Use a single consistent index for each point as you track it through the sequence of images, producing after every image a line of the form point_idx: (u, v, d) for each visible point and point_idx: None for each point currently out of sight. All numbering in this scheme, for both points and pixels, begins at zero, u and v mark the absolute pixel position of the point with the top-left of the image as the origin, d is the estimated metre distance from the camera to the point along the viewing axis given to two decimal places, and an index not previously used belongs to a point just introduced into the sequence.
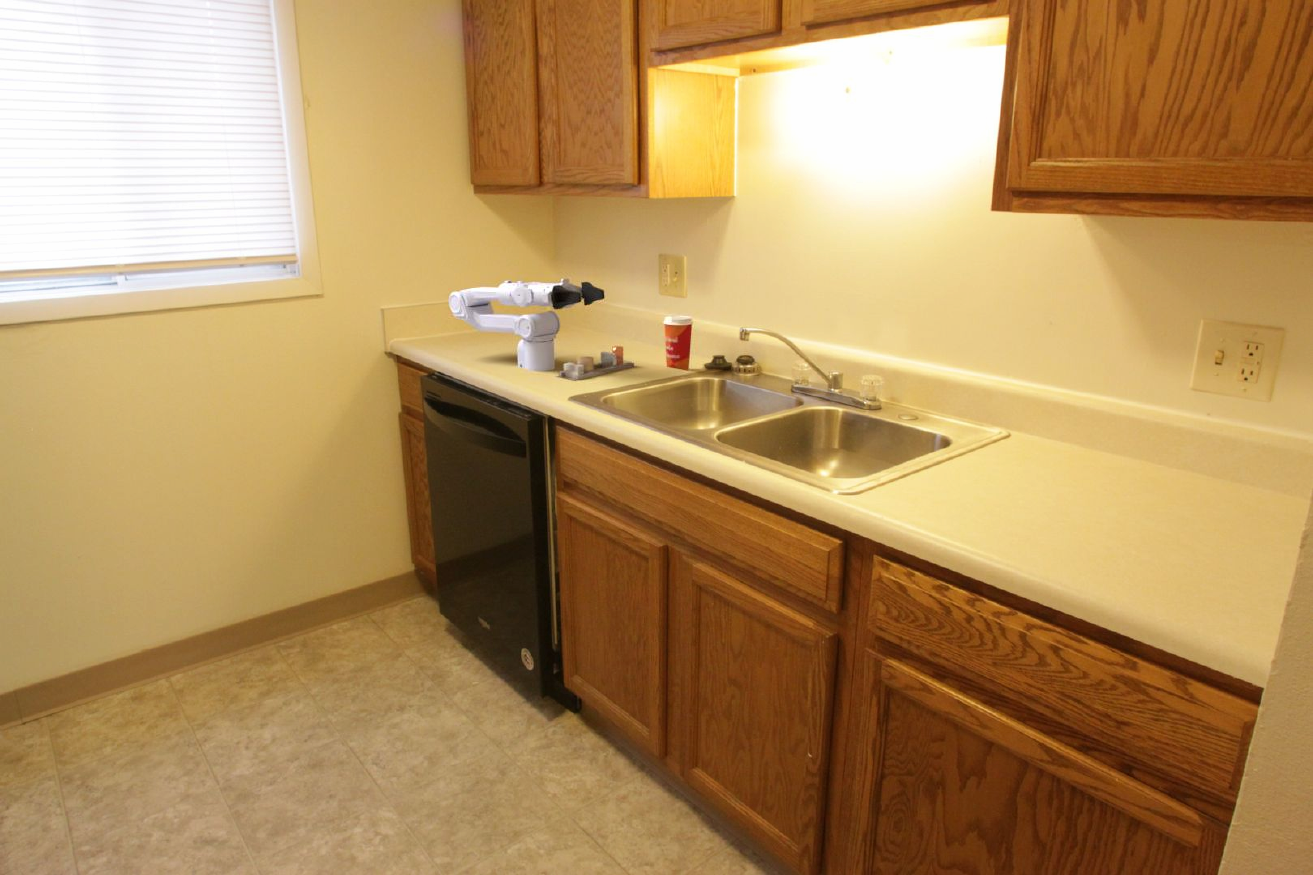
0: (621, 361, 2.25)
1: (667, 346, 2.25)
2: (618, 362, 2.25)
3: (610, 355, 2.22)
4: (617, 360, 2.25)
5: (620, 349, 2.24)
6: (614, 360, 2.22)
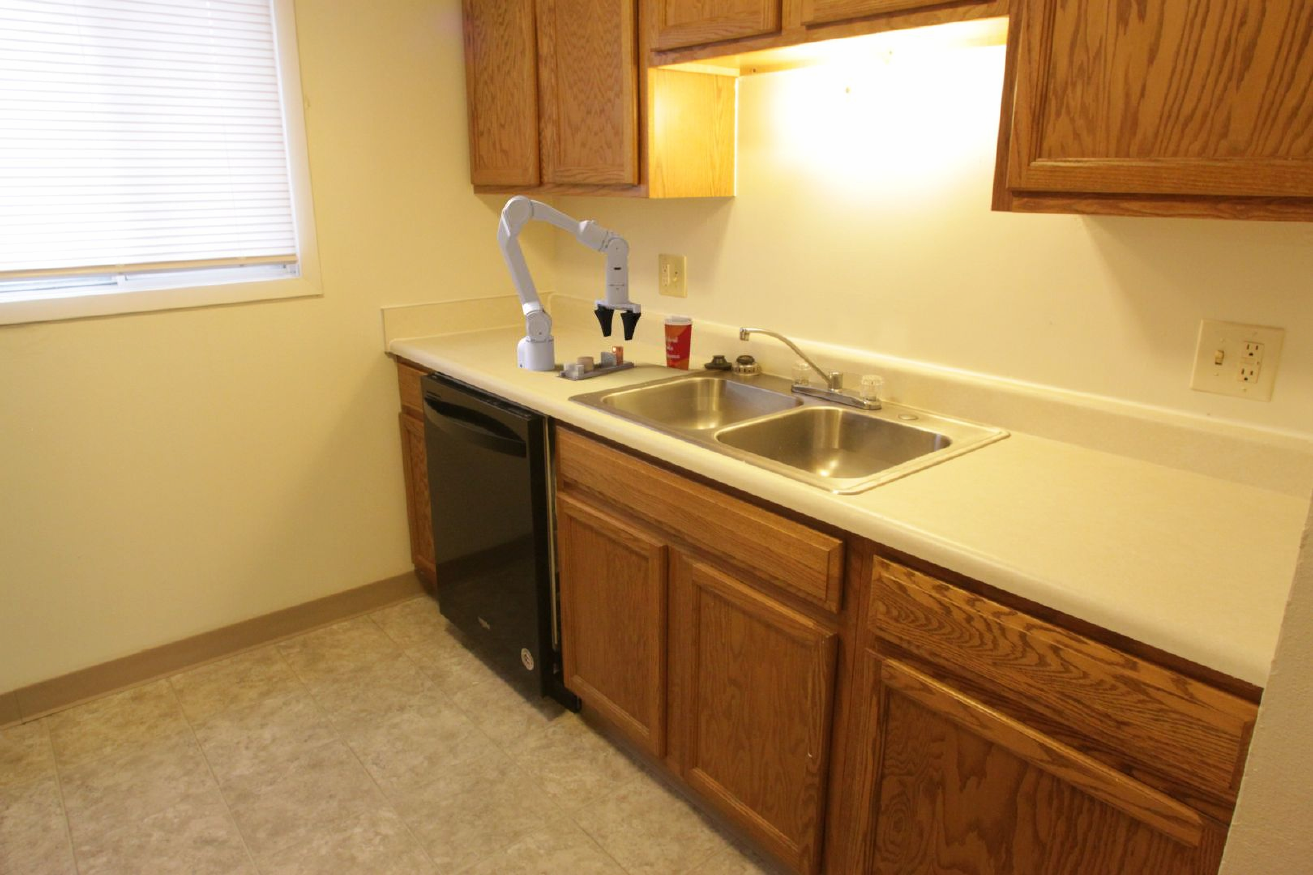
0: (621, 361, 2.25)
1: (667, 346, 2.25)
2: (618, 362, 2.25)
3: (610, 355, 2.22)
4: (617, 360, 2.25)
5: (620, 349, 2.24)
6: (614, 360, 2.22)
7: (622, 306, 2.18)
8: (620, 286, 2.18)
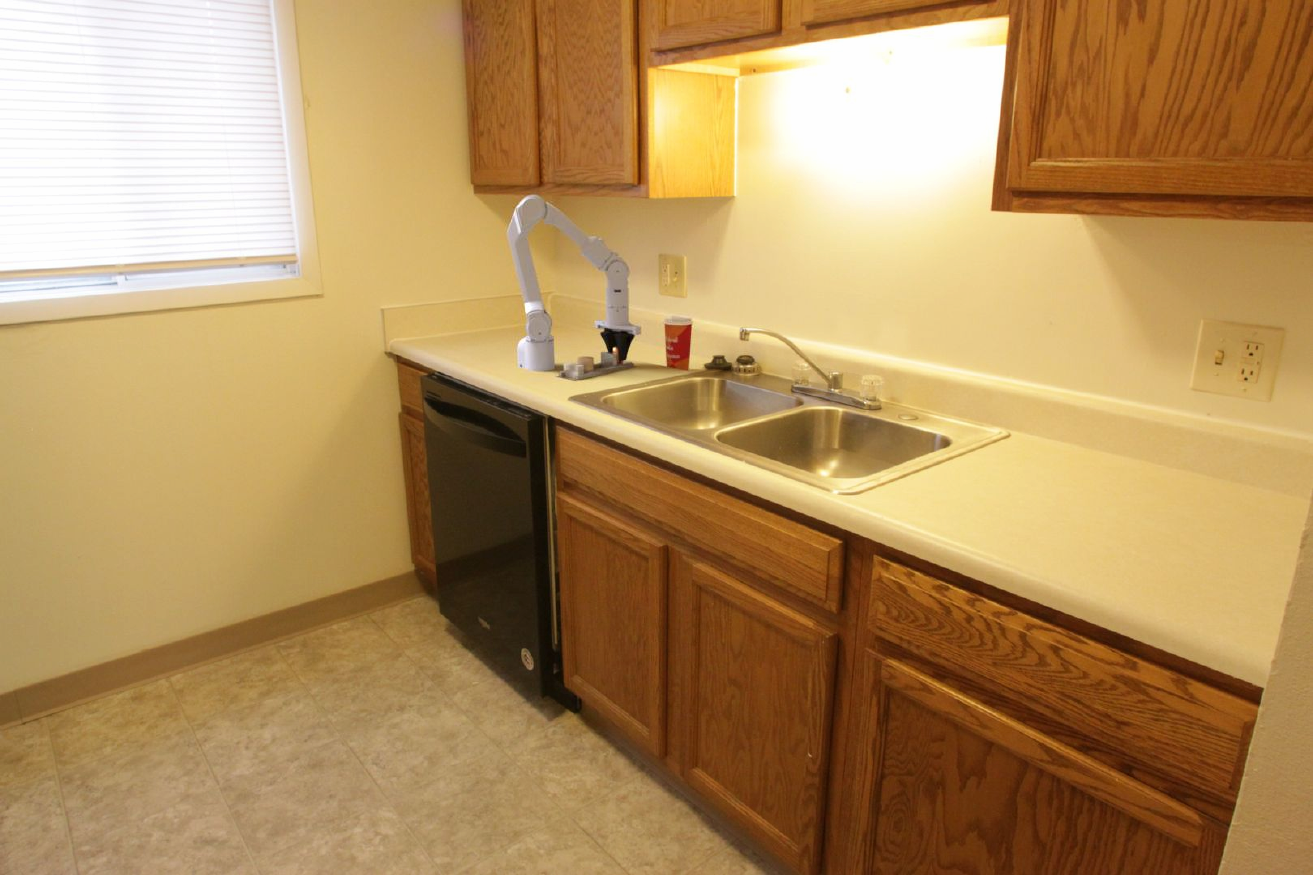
0: (621, 361, 2.25)
1: (667, 346, 2.25)
2: (618, 362, 2.25)
3: (610, 355, 2.22)
4: (617, 360, 2.25)
5: None
6: (614, 360, 2.22)
7: (622, 328, 2.20)
8: (620, 308, 2.19)
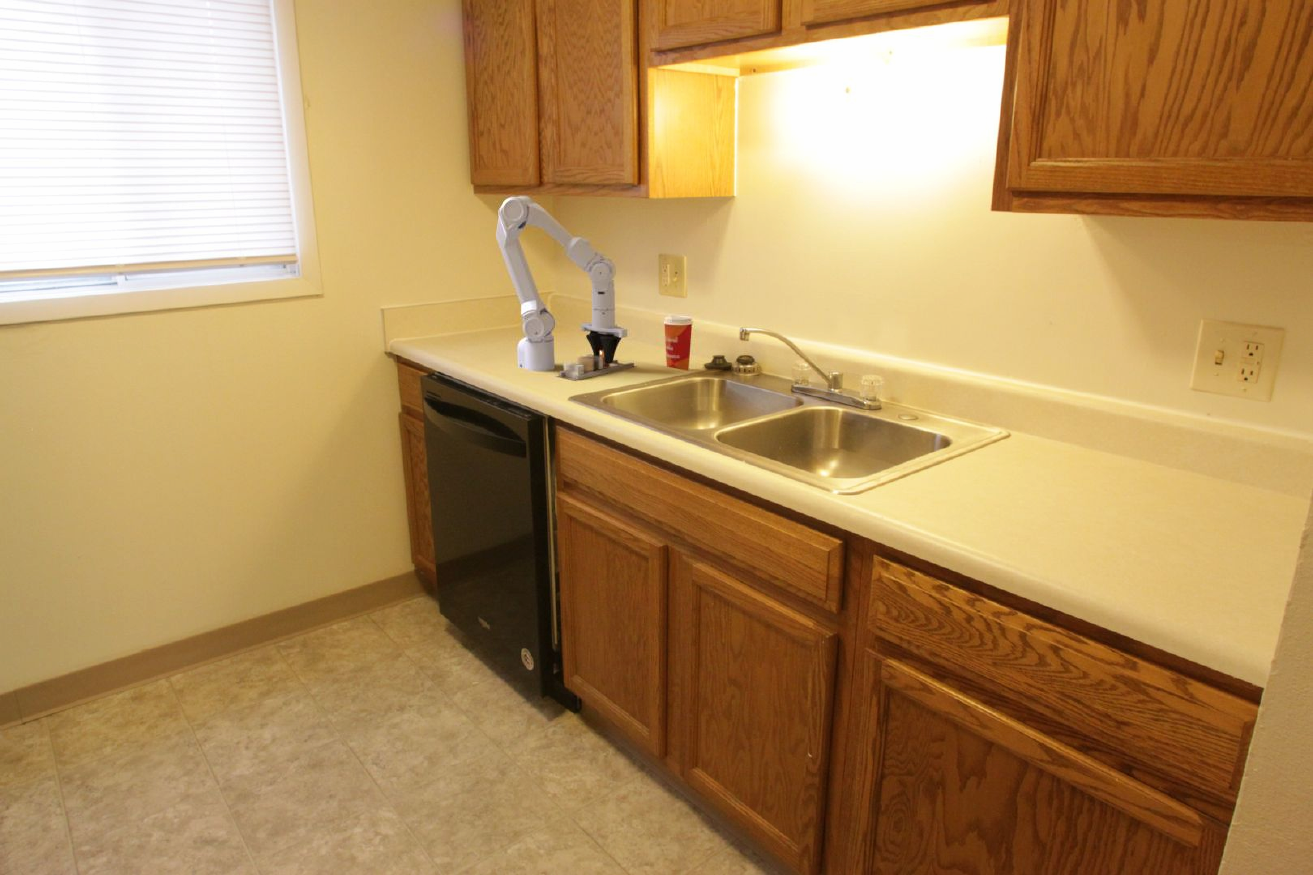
0: (608, 364, 2.21)
1: (667, 346, 2.25)
2: (604, 365, 2.21)
3: (596, 358, 2.18)
4: (603, 363, 2.21)
5: None
6: (600, 363, 2.18)
7: (608, 331, 2.16)
8: (606, 310, 2.16)
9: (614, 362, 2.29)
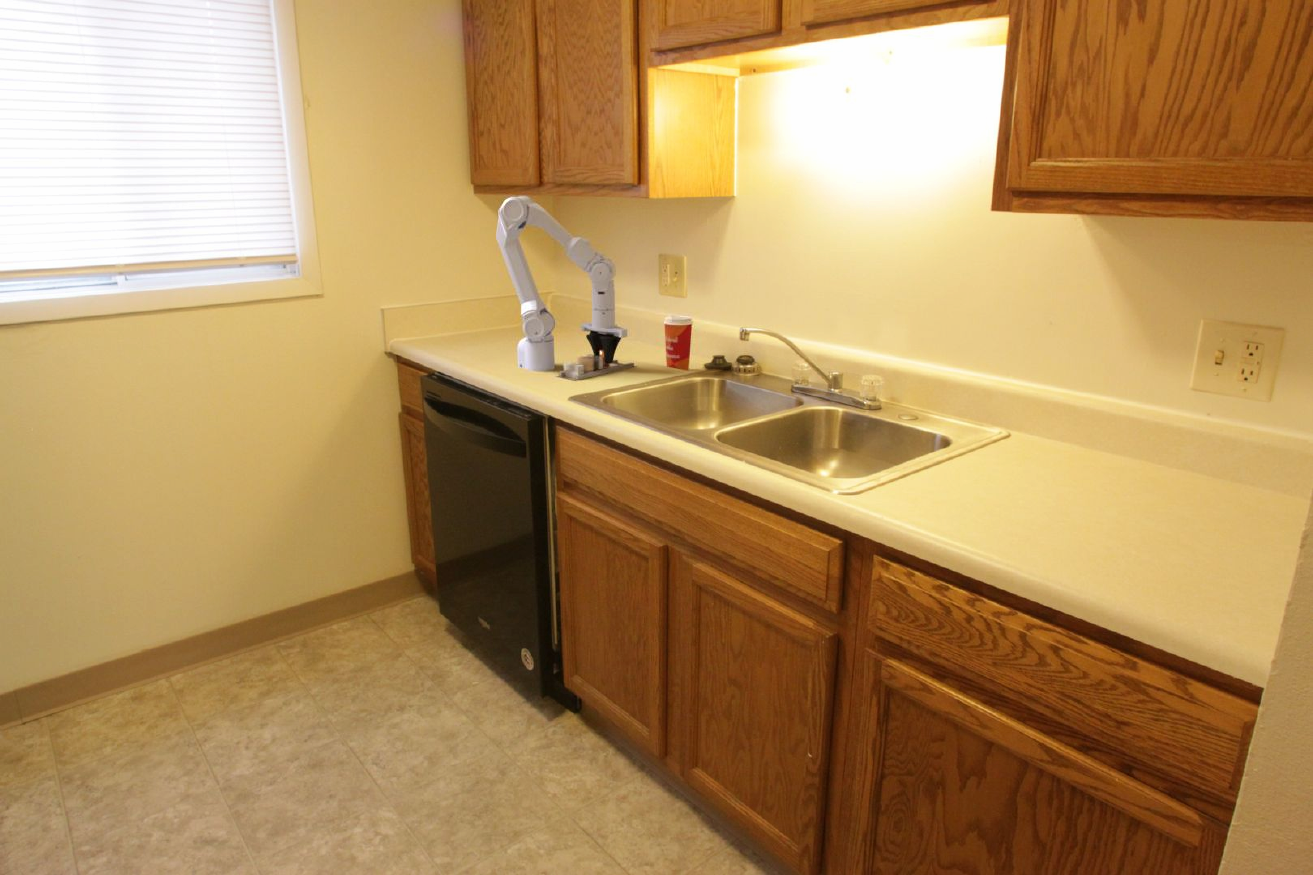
0: (608, 364, 2.21)
1: (667, 346, 2.25)
2: (604, 365, 2.21)
3: (596, 358, 2.18)
4: (603, 363, 2.21)
5: None
6: (600, 363, 2.18)
7: (608, 331, 2.16)
8: (606, 310, 2.16)
9: (614, 362, 2.29)
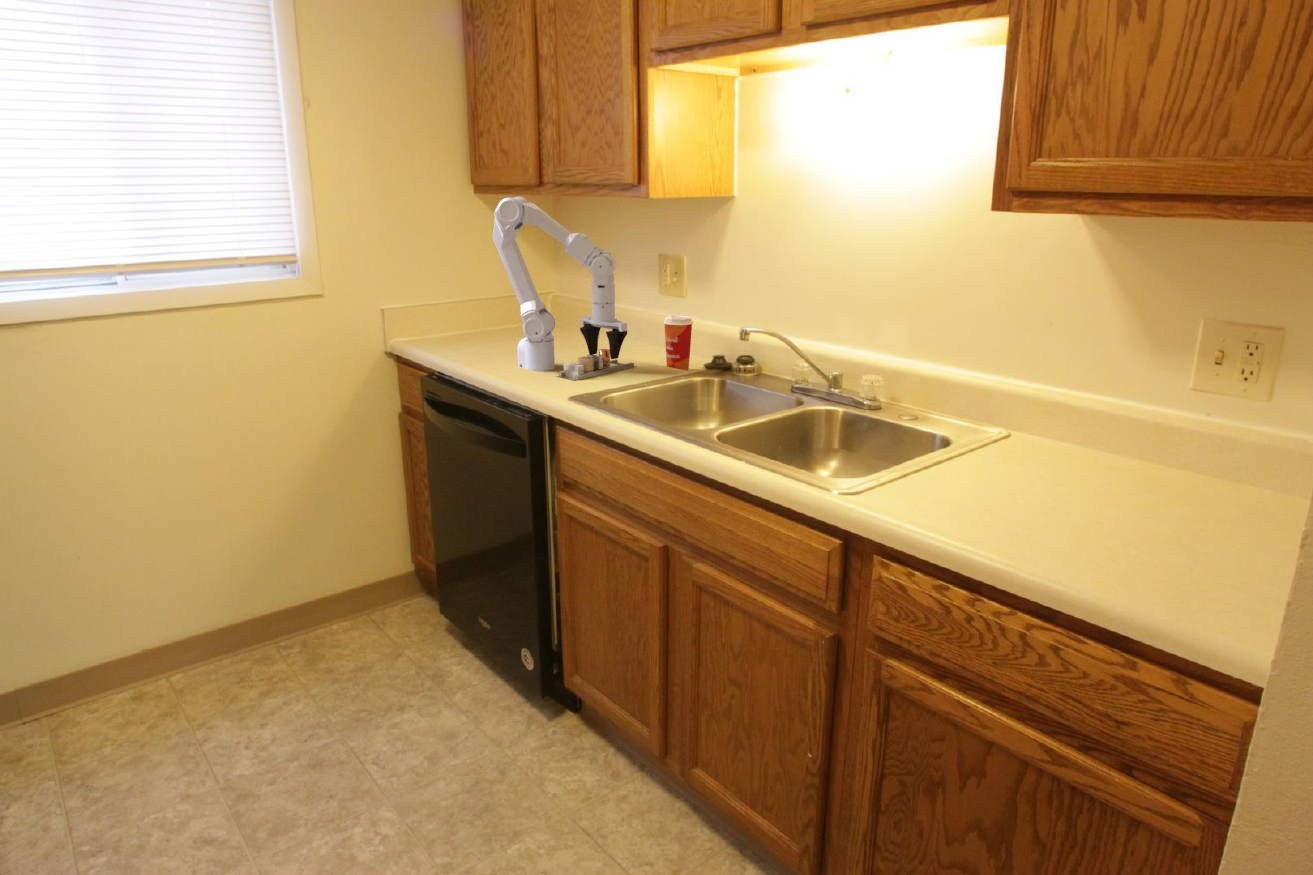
0: (608, 364, 2.21)
1: (667, 346, 2.25)
2: (604, 365, 2.21)
3: (596, 358, 2.18)
4: (603, 363, 2.21)
5: (606, 352, 2.20)
6: (600, 363, 2.18)
7: (608, 324, 2.16)
8: (606, 304, 2.15)
9: (614, 362, 2.29)
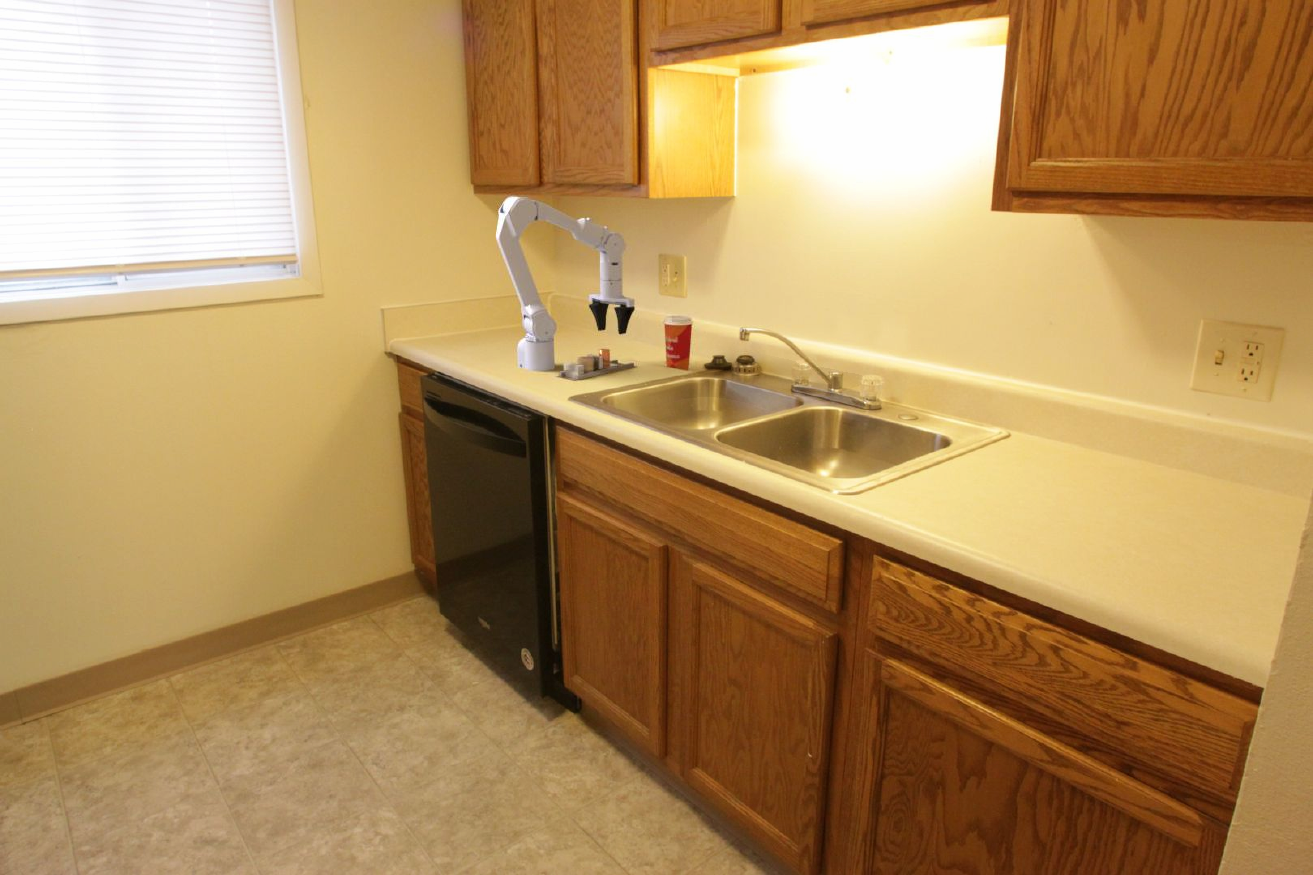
0: (608, 364, 2.21)
1: (667, 346, 2.25)
2: (604, 365, 2.21)
3: (596, 358, 2.18)
4: (603, 363, 2.21)
5: (606, 352, 2.20)
6: (600, 363, 2.18)
7: (616, 300, 2.24)
8: (614, 281, 2.24)
9: (614, 362, 2.29)
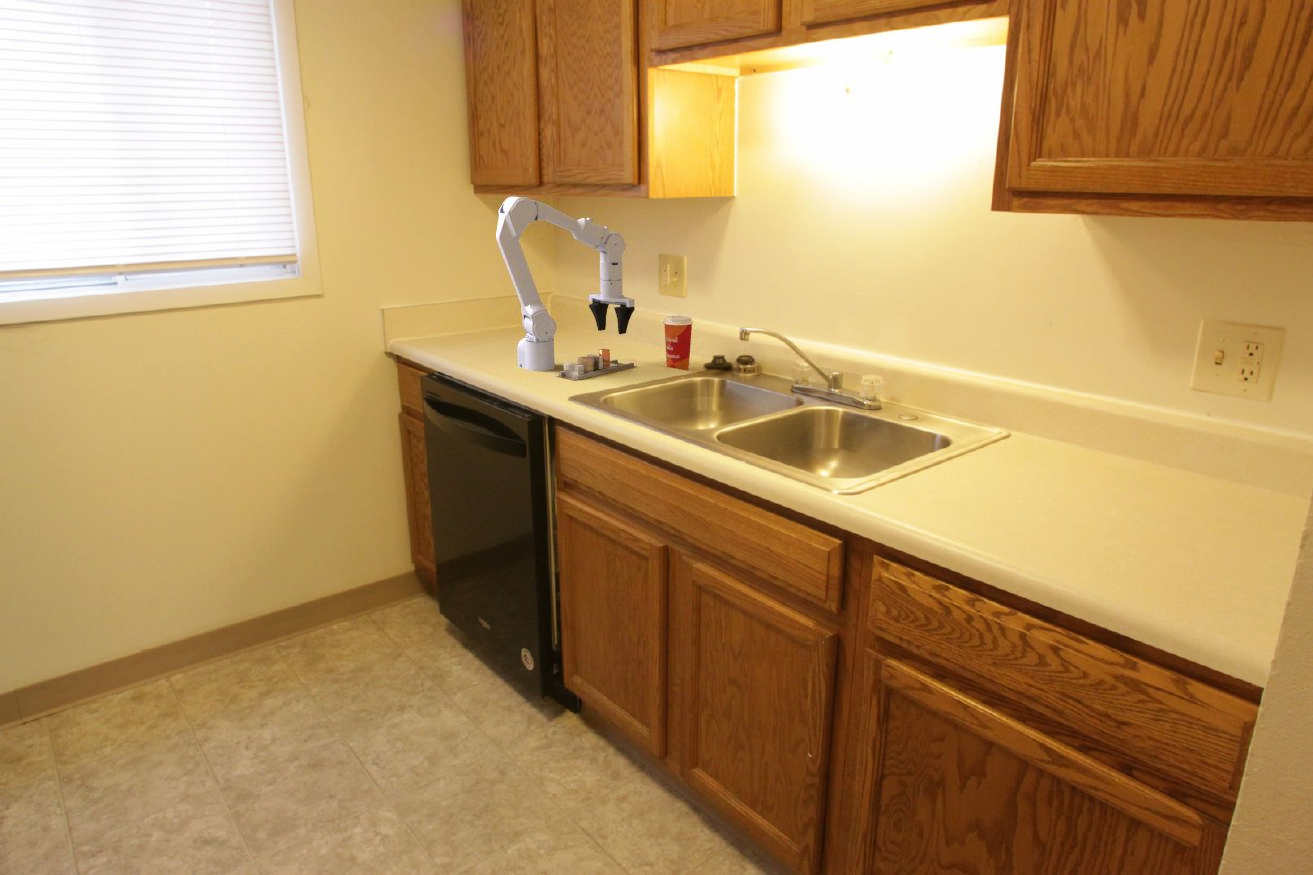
0: (608, 364, 2.21)
1: (667, 346, 2.25)
2: (604, 365, 2.21)
3: (596, 358, 2.18)
4: (603, 363, 2.21)
5: (606, 352, 2.20)
6: (600, 363, 2.18)
7: (616, 300, 2.24)
8: (614, 281, 2.24)
9: (614, 362, 2.29)
